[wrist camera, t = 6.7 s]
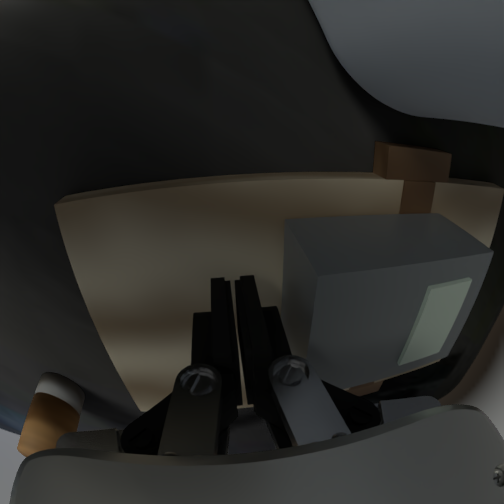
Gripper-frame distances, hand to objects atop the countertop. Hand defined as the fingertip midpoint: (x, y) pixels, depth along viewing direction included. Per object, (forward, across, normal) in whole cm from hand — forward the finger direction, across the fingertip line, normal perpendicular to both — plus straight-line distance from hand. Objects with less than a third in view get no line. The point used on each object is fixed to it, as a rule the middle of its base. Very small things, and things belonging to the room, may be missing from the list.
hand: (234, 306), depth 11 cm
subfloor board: (+3, -5, +3) cm, 6 cm away
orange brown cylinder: (+3, +14, +10) cm, 18 cm away
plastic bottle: (+3, -10, -16) cm, 19 cm away
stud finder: (+1, -6, 0) cm, 6 cm away
